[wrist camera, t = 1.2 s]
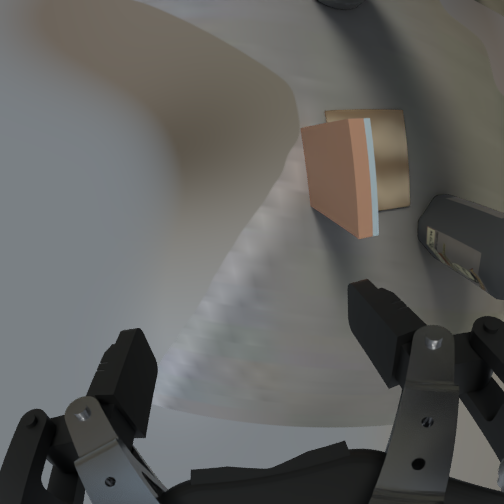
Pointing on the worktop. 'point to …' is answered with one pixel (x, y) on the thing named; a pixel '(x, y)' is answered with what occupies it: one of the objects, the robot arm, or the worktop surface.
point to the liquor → (466, 240)
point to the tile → (343, 174)
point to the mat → (385, 153)
